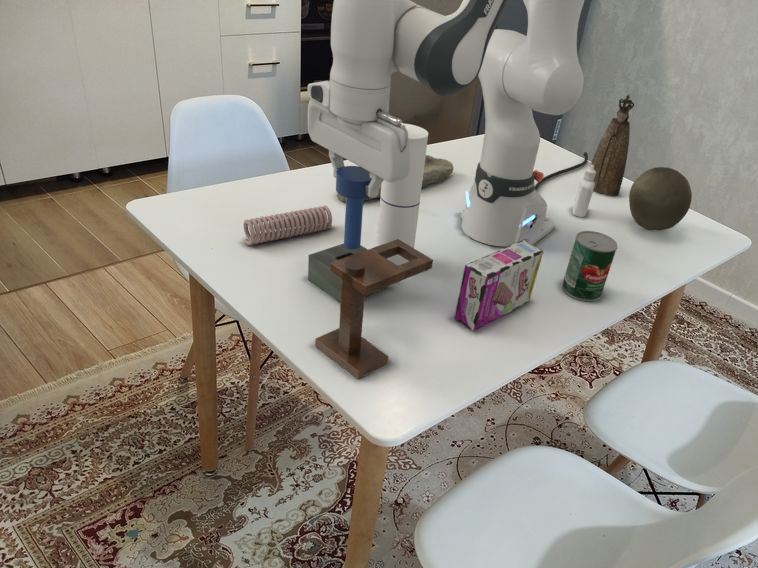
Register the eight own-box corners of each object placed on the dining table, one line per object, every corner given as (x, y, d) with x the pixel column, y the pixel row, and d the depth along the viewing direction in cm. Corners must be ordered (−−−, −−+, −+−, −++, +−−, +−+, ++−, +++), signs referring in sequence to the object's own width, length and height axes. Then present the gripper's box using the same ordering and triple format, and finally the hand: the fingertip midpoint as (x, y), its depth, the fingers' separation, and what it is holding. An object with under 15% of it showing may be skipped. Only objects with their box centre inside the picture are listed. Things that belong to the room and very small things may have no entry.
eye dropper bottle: (565, 211, 158) (578, 163, 151) (578, 206, 161) (591, 159, 154) (579, 218, 156) (593, 170, 149) (592, 213, 159) (606, 166, 152)
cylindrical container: (383, 270, 122) (396, 139, 108) (369, 251, 127) (380, 123, 112) (418, 266, 126) (435, 138, 111) (403, 248, 130) (418, 123, 116)
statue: (588, 193, 169) (616, 94, 155) (582, 181, 175) (609, 85, 161) (620, 197, 171) (651, 100, 156) (613, 185, 177) (642, 90, 162)
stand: (384, 315, 111) (393, 228, 101) (426, 343, 106) (440, 256, 97) (314, 346, 101) (317, 253, 92) (357, 379, 96) (365, 285, 87)
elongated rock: (324, 197, 146) (353, 217, 142) (324, 175, 142) (355, 195, 138) (433, 162, 168) (461, 178, 164) (436, 142, 164) (465, 158, 160)
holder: (351, 264, 122) (353, 240, 119) (388, 287, 118) (390, 263, 115) (307, 279, 116) (308, 254, 113) (344, 305, 111) (346, 280, 108)
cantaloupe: (620, 211, 163) (638, 153, 154) (676, 224, 162) (698, 166, 153) (619, 235, 152) (639, 173, 143) (679, 249, 151) (703, 188, 142)
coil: (250, 229, 118) (337, 212, 129) (238, 215, 120) (325, 200, 131) (250, 250, 121) (335, 232, 132) (238, 237, 123) (323, 220, 134)
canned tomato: (575, 275, 133) (589, 226, 126) (608, 292, 129) (625, 243, 123) (554, 288, 127) (568, 237, 121) (588, 306, 124) (604, 255, 117)
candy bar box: (487, 278, 104) (545, 249, 115) (463, 264, 106) (522, 237, 117) (474, 334, 111) (530, 302, 122) (452, 320, 113) (509, 289, 124)
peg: (354, 233, 116) (358, 163, 108) (377, 248, 113) (383, 177, 105) (326, 242, 112) (328, 170, 104) (349, 258, 109) (353, 184, 101)
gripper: (423, 119, 95) (414, 207, 103) (332, 77, 105) (330, 161, 113) (391, 126, 91) (384, 216, 99) (300, 82, 100) (300, 168, 109)
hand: (355, 186), depth 106 cm, fingers closed on peg, 6 cm apart
